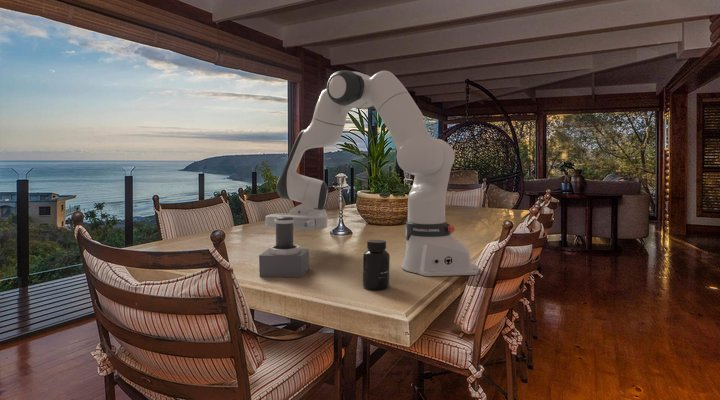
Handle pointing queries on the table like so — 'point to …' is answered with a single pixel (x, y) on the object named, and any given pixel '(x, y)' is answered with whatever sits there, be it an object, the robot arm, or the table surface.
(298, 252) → the camera body block
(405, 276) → the table surface
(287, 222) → the lens
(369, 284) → the supplement bottle
